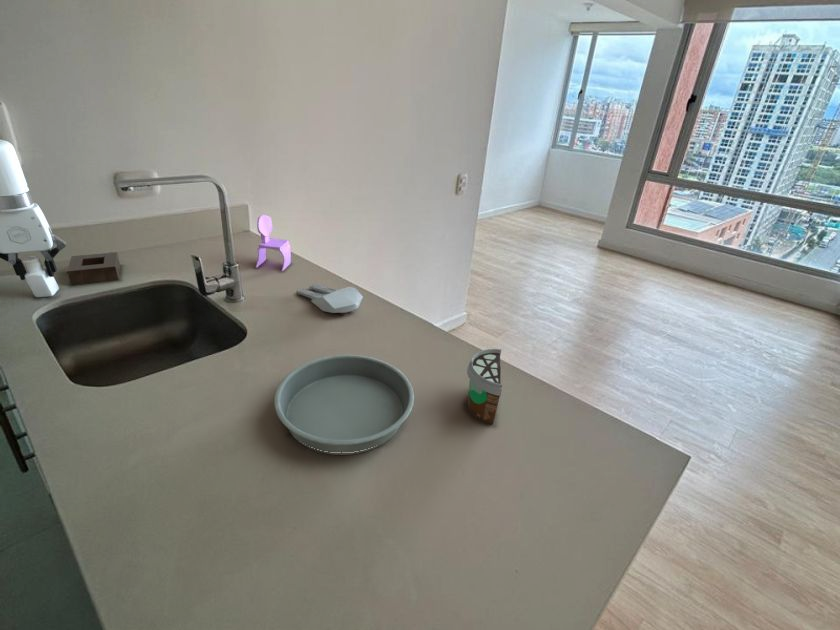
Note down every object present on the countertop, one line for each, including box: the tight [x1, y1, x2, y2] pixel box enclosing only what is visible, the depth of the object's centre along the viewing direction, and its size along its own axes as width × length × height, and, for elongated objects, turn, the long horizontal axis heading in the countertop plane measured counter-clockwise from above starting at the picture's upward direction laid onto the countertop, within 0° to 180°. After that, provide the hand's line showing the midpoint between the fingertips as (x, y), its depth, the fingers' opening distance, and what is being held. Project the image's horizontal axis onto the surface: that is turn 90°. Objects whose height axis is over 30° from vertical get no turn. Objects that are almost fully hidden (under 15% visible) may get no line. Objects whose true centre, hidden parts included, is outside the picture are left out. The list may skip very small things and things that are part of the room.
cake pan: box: [273, 354, 415, 456], centre depth 81 cm, size 25×25×4 cm
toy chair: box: [255, 214, 292, 272], centre depth 131 cm, size 8×9×15 cm
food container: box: [466, 348, 503, 425], centre depth 85 cm, size 12×6×10 cm, turn 172°
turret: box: [296, 283, 363, 314], centre depth 117 cm, size 10×20×5 cm, turn 50°
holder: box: [66, 251, 121, 286], centre depth 119 cm, size 10×10×4 cm
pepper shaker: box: [21, 255, 60, 298], centre depth 107 cm, size 4×4×10 cm
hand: (38, 275), depth 107 cm, fingers closed on pepper shaker, 4 cm apart
